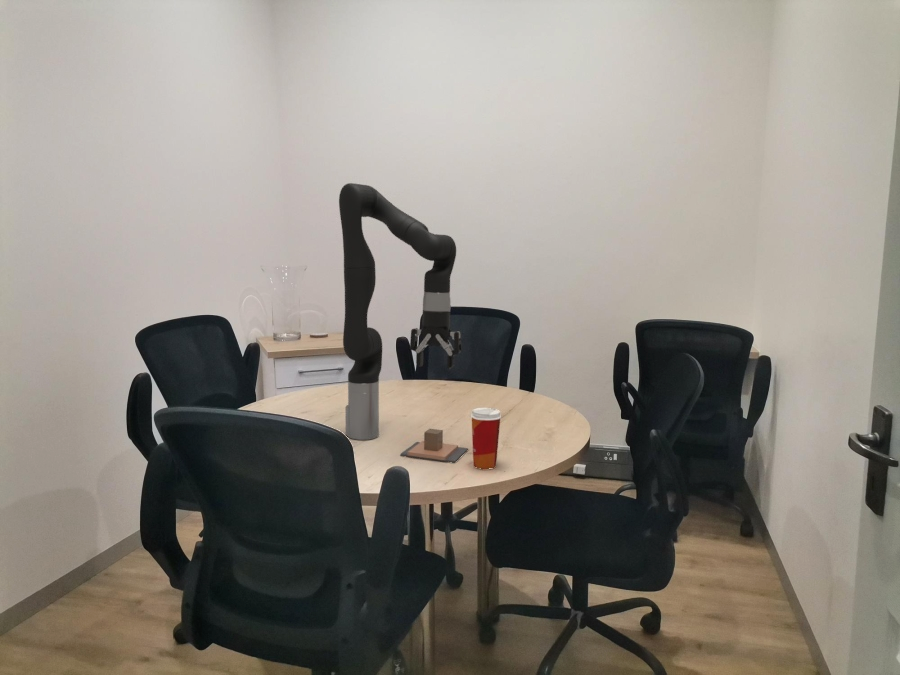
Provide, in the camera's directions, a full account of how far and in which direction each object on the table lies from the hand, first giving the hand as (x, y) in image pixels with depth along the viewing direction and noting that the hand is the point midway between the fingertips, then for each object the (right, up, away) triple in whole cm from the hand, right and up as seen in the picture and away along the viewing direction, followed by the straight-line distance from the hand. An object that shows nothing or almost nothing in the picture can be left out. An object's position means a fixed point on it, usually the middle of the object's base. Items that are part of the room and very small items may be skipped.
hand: (435, 367), depth 169 cm
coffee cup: (+13, -26, -6) cm, 30 cm away
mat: (0, -24, +4) cm, 25 cm away
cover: (-1, -24, +3) cm, 24 cm away
